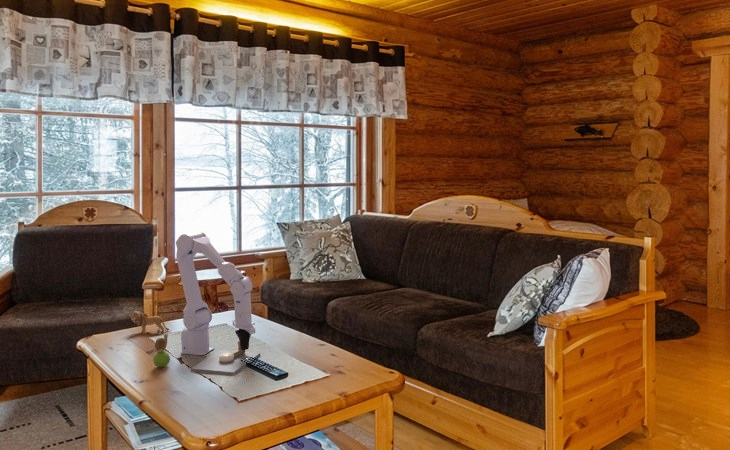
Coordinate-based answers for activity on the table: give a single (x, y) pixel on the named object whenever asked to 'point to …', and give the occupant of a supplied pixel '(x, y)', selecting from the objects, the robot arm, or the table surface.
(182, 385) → the table surface
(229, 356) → the brown white rounded rod
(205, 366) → the stud board
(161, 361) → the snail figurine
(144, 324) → the lion figurine
